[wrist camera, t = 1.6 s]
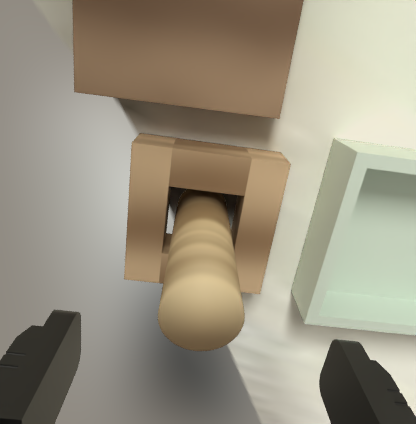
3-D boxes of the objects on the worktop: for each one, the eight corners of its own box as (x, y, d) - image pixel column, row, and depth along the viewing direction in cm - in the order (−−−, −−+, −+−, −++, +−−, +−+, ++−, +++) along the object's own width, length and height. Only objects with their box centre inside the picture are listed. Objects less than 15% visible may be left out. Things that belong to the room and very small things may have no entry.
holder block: (140, 133, 20) (131, 142, 17) (280, 152, 20) (290, 164, 18) (132, 257, 23) (124, 279, 20) (254, 271, 23) (259, 293, 21)
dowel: (180, 181, 21) (161, 277, 12) (230, 187, 21) (251, 286, 12) (174, 226, 22) (154, 346, 13) (222, 232, 22) (236, 354, 13)
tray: (333, 138, 20) (357, 152, 17) (506, 162, 20) (559, 180, 17) (291, 290, 24) (304, 323, 21) (436, 306, 25) (469, 341, 21)
